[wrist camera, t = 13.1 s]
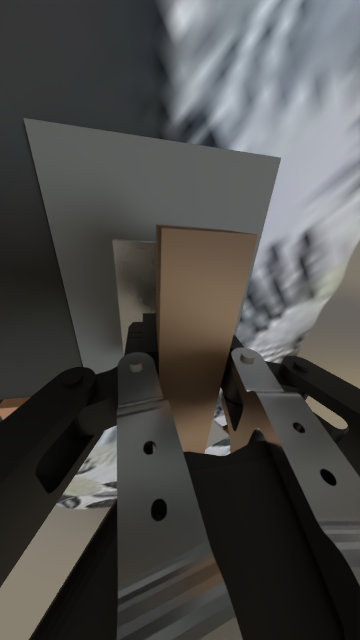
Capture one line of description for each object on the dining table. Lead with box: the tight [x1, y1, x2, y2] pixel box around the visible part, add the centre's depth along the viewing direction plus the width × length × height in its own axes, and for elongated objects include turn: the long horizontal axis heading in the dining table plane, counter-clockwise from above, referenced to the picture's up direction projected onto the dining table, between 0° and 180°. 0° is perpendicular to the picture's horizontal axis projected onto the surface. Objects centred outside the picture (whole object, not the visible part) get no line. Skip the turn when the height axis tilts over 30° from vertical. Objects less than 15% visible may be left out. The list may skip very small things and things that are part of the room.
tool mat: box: [24, 118, 281, 374], centre depth 19 cm, size 18×22×1 cm
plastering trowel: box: [112, 224, 258, 454], centre depth 11 cm, size 13×7×7 cm, turn 176°
